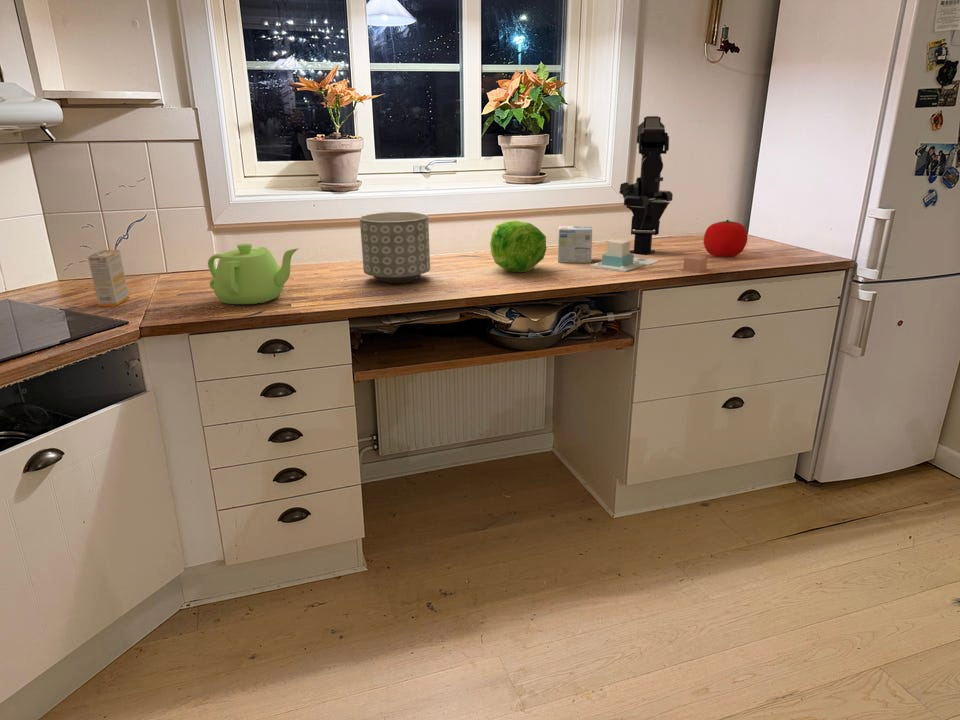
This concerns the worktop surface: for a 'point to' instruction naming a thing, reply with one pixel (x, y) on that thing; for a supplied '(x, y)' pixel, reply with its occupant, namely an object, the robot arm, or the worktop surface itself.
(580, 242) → the light bulb box
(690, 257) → the rust brick
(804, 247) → the worktop surface
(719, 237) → the tomato
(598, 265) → the build plate
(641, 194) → the robot arm
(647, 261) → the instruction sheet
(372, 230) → the planter
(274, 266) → the teapot
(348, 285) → the worktop surface
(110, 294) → the supplement box
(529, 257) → the lettuce
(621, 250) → the cream brick
